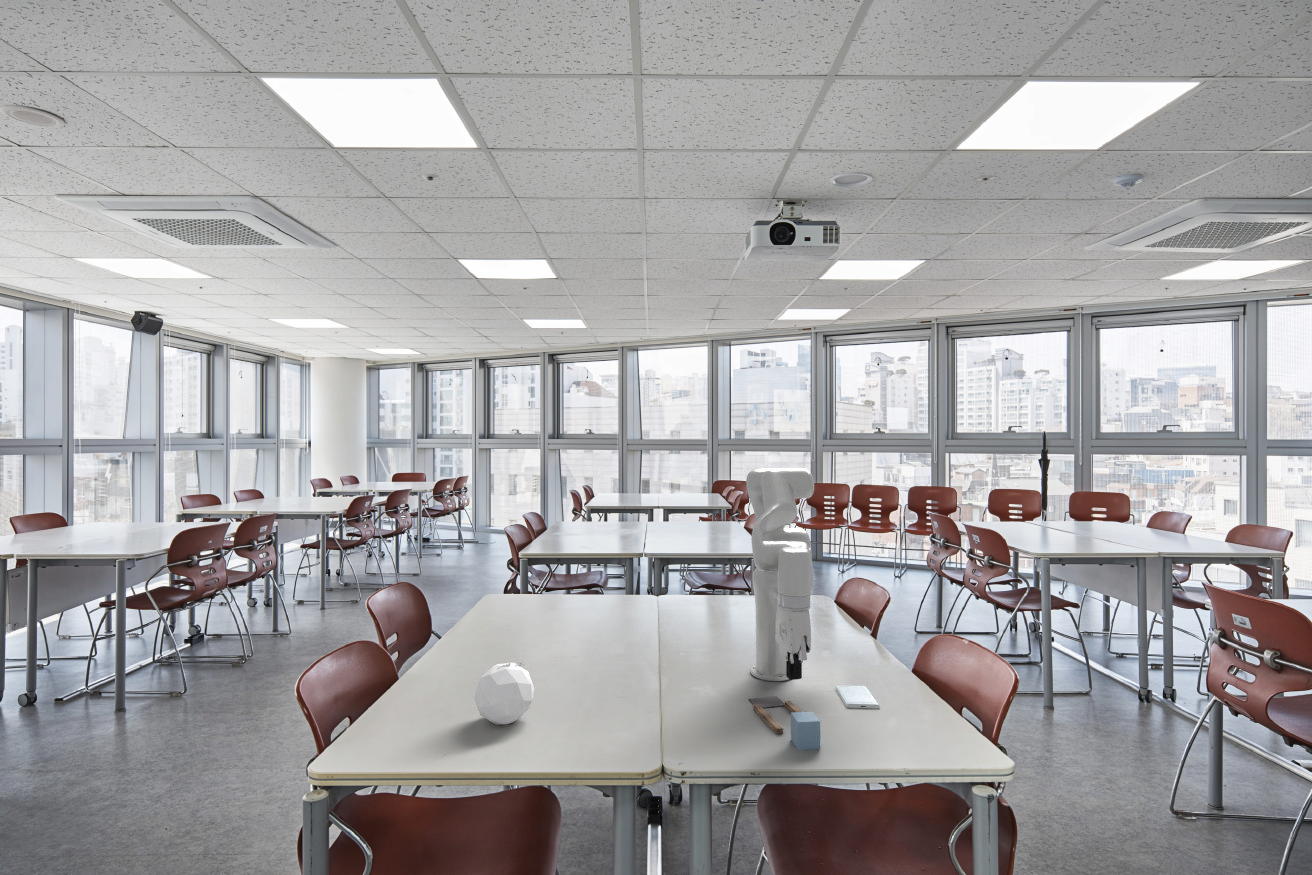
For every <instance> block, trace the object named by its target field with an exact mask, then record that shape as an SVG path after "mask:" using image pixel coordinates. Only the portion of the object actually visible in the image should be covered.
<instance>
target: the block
mask: <svg viewBox="0 0 1312 875" xmlns="http://www.w3.org/2000/svg"><path fill="white" fill-rule="evenodd" d="M790 740H791V741H792V743H793V745H794V746H795V748H796V749H797V750H798V751H799V750H800V751H801V750H802V751H803V750H818V749H819V750H820V749H821V721H820V719H819V718H818V717H817V716H816V714H815V713H814V712H813V711H802V712H790Z"/></svg>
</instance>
